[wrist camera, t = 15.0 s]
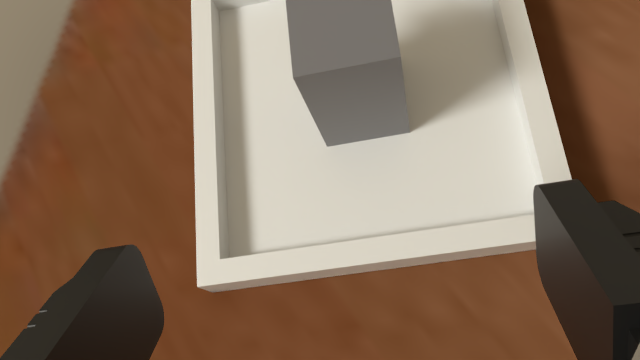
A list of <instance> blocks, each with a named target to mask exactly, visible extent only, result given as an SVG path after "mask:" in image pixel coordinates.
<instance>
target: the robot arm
mask: <svg viewBox="0 0 640 360" xmlns="http://www.w3.org/2000/svg"><path fill="white" fill-rule="evenodd" d="M533 203H534V221H535V238H536V255H537V263H538V269H539V274H540V277H541V281H542V284H543V287H544V289H545V291H546V293H547V296H548V298H549V300H550V302H551V304H552V306H553V308H554V310H555V313H556V315H557V317H558V319H559V321H560V323H561V325H562V327H563V330H564V332H565V334H566V336H567V338H568V340H569V342H570V344H571V347H572V349H573V351H574V353H575V355H576V357H577V359H578V360H640V214H639V213H638V212H636V211H634V210H632V209H630V208H628V207H626V206H624V205H622V204H620V203H618V202H616V201H607V202H600V203H597V202H596V200H595V199H594V198H593V197H592V195H591V194H590V193H589V192H588V190H587V189H586V188H585V187H584V185H583V184H582V183H581V182H580V180H578V179H572V180H566V181H559V182H552V183H546V184H539V185H535V186H534V190H533ZM39 311H40V313H39V314H36V315H35V316H34V317H33V319H32V320H31V321H30V322H29V324H28V325H27V326H28V328H27V329H24V330H23V331H22V332H21V333H20V335H19V336H18V337H17V338H16V340H15V341H14V342H13V343H12V344H11V346H10V347H9V348H8V349H7V351H6V352H5V353H4V354H3V355H2V357H1V358H0V360H149V359H150V357H151V354H152V352H153V350H154V348H155V346H156V344H157V342H158V340H159V338H160V336H161V333H162V330H163V326H164V311H163V306H162V303H161V300H160V298H159V295H158V293H157V291H156V288H155V286H154V283H153V281H152V278H151V276H150V274H149V271H148V269H147V266H146V264H145V261H144V259H143V256H142V254H141V252H140V251H139V249H138V248H137V247H136V246H134V245H124V246H118V247H111V248H104V249H98V250H96V251H94V252H93V253H92V255H91V256H90V257H89V259H88V260H87V261H86V262H85V264H84V265H83V266H82V267H81V269H80V270H79V271H78V272H77V274H76V275H75V276H74V277H73V278H72V279H71V280H69V281H68V282H67V283H66V284H64V285H63V286H62V287H60V288H59V289H58V290H57V291H55V292H54V293H53V294H52V295H51V297H50V298H49V299H48V300H47V302H46V303H45V304H44V305H43V306H42V308H41V309H40V310H39Z"/></svg>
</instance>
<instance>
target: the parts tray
mask: <svg viewBox="0 0 640 360" xmlns="http://www.w3.org/2000/svg"><path fill="white" fill-rule="evenodd" d="M391 2H392V8H393V13H394V19H395V25H396V31H397V37H398V42H399V48H400V54H401V61H402V69H403V78H404V86H405V94H406V103H407V111H408V119H409V128H410V133H405V134H399V135H393V136H388V137H382V138H376V139H370V140H364V141H359V142H353V143H347V144H341V145H335V146H329V147H327V146H326V143H325V141H324V139H323V137H322V135H321V133H320V131H319V129H318V127H317V125H316V123H315V121H314V119H313V117H312V115H311V113H310V111H309V109H308V107H307V105H306V103H305V101H304V99H303V97H302V95H301V93H300V91H299V89H298V87H297V85H296V83H295V81H294V79H293V74H292V63H291V53H290V42H289V32H288V21H287V10H286V0H191V15H192V63H193V111H194V159H195V207H196V255H197V287H199V288H202V289H204V290H207V291H210V292H219V291H227V290H234V289H242V288H249V287H257V286H264V285H272V284H279V283H287V282H294V281H302V280H309V279H317V278H324V277H332V276H339V275H347V274H354V273H362V272H369V271H377V270H384V269H392V268H399V267H407V266H414V265H422V264H429V263H437V262H444V261H452V260H459V259H467V258H474V257H482V256H489V255H497V254H504V253H512V252H520V251H527V250H535V249H536V238H535V221H534V203H533V190H534V186H535V185H539V184H546V183H552V182H559V181H566V180H572V178H571V175H570V171H569V167H568V163H567V160H566V156H565V152H564V149H563V145H562V141H561V137H560V134H559V130H558V126H557V123H556V119H555V115H554V111H553V108H552V104H551V100H550V97H549V93H548V89H547V86H546V82H545V78H544V74H543V71H542V67H541V63H540V60H539V56H538V52H537V48H536V45H535V41H534V37H533V34H532V30H531V26H530V22H529V19H528V15H527V11H526V8H525V4H524V0H391Z"/></svg>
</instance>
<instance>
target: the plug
mask: <svg viewBox="0 0 640 360" xmlns="http://www.w3.org/2000/svg"><path fill="white" fill-rule="evenodd" d="M286 10H287V21H288V32H289V42H290V53H291V63H292V74H293V79H294V81H295V83H296V85H297V87H298V89H299V91H300V93H301V95H302V97H303V99H304V101H305V103H306V105H307V107H308V109H309V111H310V113H311V115H312V117H313V119H314V121H315V123H316V125H317V127H318V129H319V131H320V133H321V135H322V137H323V139H324V141H325V143H326V146H327V147H329V146H335V145H341V144H347V143H353V142H359V141H364V140H370V139H376V138H382V137H388V136H393V135H399V134H405V133H410V128H409V119H408V111H407V103H406V94H405V86H404V78H403V69H402V61H401V54H400V48H399V42H398V37H397V31H396V25H395V19H394V13H393V8H392V2H391V0H286Z"/></svg>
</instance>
